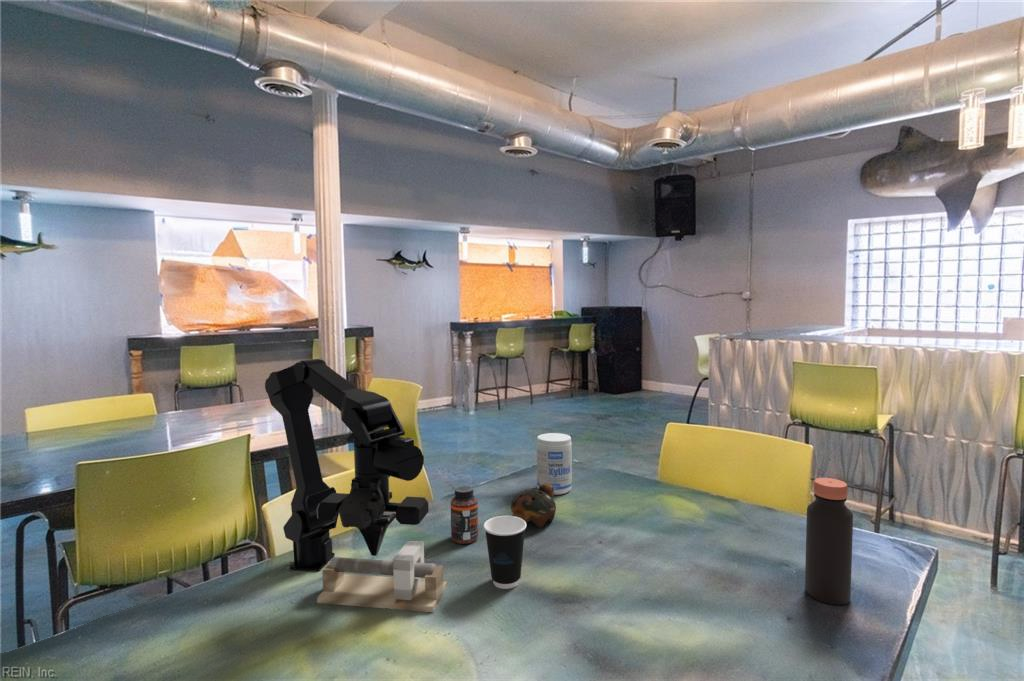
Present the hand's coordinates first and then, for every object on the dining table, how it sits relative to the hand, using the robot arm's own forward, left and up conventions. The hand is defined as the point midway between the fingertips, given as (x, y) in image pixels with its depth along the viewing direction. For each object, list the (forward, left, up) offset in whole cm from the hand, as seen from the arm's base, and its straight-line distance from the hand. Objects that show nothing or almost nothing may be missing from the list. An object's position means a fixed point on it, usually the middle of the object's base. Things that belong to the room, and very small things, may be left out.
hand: (374, 554), depth 93 cm
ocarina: (+24, +33, -8) cm, 42 cm away
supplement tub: (+27, +55, -8) cm, 62 cm away
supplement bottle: (+10, +23, -8) cm, 26 cm away
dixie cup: (+22, +7, -8) cm, 25 cm away
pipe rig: (+1, 0, -7) cm, 7 cm away
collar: (+6, 0, -6) cm, 9 cm away
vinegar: (+78, +10, -8) cm, 79 cm away
